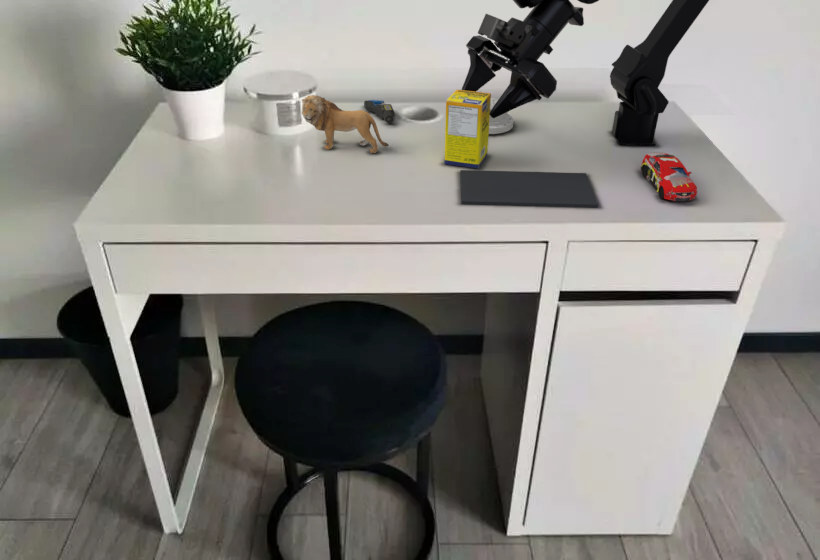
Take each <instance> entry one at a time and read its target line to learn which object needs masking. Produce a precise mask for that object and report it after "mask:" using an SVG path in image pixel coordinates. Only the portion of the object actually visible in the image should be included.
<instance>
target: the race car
mask: <svg viewBox="0 0 820 560" xmlns="http://www.w3.org/2000/svg"><path fill="white" fill-rule="evenodd" d="M640 170H641V173H642V177H643V178H646V179H647V181H648V182H649V183H650V185H651V186H652V187H653V188H654V189H655V191H656V192H657V193H658V196H659V199H660V200H667V201H672V202H690V201H693V200H695V199H696V197H697V196H698V186H697V184H696V183H695V182H694V180H693V179H692V178H691V176H690V175H691V174H692V173H693V172H692V171H688V170H687V168H686V166H685V164H683V162H682V161H681V160H680V159H679V158H678V157H676V156H675V155H673V154H669V153H666V152H649V153H646V154H645V155H644V157H643V159H642V161H641V166H640Z"/></svg>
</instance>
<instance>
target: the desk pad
mask: <svg viewBox="0 0 820 560" xmlns="http://www.w3.org/2000/svg"><path fill="white" fill-rule="evenodd" d="M459 174H460V202H461V203H460V204H461V205H486V206H487V205H489V206H490V205H491V206H523V207H524V206H526V207H562V208H563V207H564V208H598V207H599V203H598V201H597V197H596V196H595V193H594V191H593V188H592V185H591V183H590V180H589V177H588V175H587V173H586V172H555V171H552V172H551V171H547V172H546V171H517V170H516V171H515V170H514V171H513V170H511V171H510V170H507V171H506V170H478V169H477V170H473V169H460V172H459Z"/></svg>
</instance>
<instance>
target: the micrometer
mask: <svg viewBox="0 0 820 560" xmlns="http://www.w3.org/2000/svg"><path fill="white" fill-rule="evenodd" d="M363 107H364V109H365V110H366V112H372V113H375V116H376V117H377V118H380V119H381V120H384V121H385V123H387V124H392V123H393V122H394V119H395V118H394V117H395V110H394V107H393V106H392V104H390V103H385V101H384V100H377V99H369V100H364V102H363Z"/></svg>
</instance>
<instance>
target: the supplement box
mask: <svg viewBox="0 0 820 560" xmlns="http://www.w3.org/2000/svg"><path fill="white" fill-rule="evenodd" d="M491 97H492V93H491V92H482V91H476V92H474V91H466V90H462V89H456V90H454V92H453V93H452V94H451V95H450V96H449V97H448V98H446V101H445V125H444V126H445V127H444V128H445V129H444V131H445V132H444V165H450V166H458V167H464V168H471V169H472V168H473V169H477V170H478V169H480V168H481V165H482V164H483V163H484V161H485V160H486V159H487V156H488V150H489V135H490V134H489V120H490V115H489V113H490V103H491Z"/></svg>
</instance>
